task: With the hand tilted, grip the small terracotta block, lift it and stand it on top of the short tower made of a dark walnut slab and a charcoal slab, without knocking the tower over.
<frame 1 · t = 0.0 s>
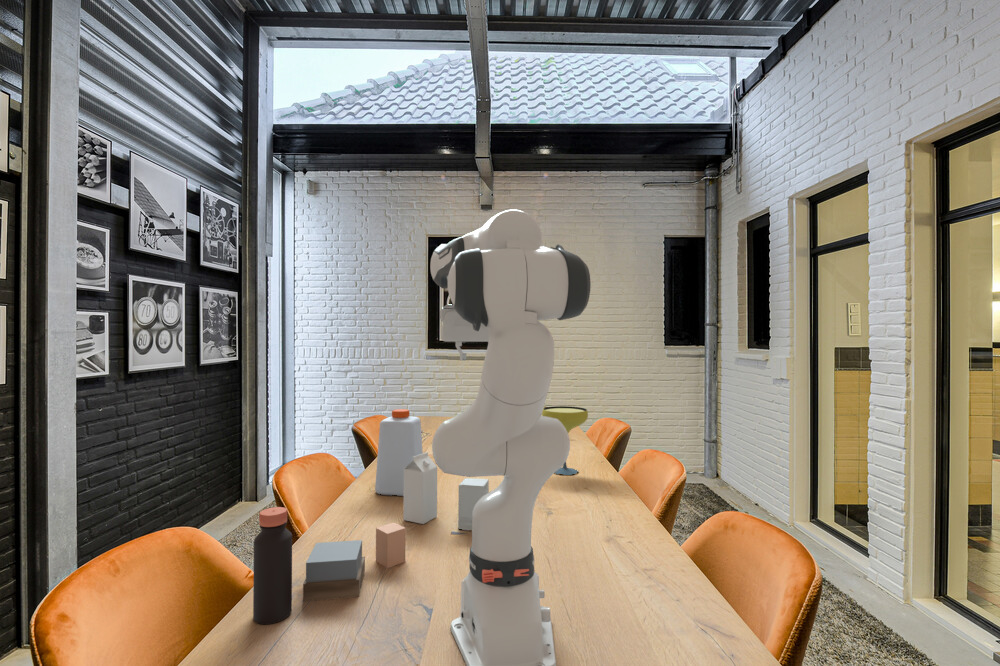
hand: (482, 360, 123), 48 cm above the table, tool pointing down, fingers open, 8 cm apart
cocktail glass: (564, 472, 197), on the table
plastic bottle: (400, 490, 173), on the table
tower base block: (335, 588, 106), on the table, touching tower top block
supplement box: (473, 526, 140), on the table
terracotta block: (390, 561, 118), on the table
tower top block: (335, 569, 107), point 3 cm above the table, touching tower base block
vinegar: (272, 616, 95), on the table
milk carton: (420, 519, 146), on the table
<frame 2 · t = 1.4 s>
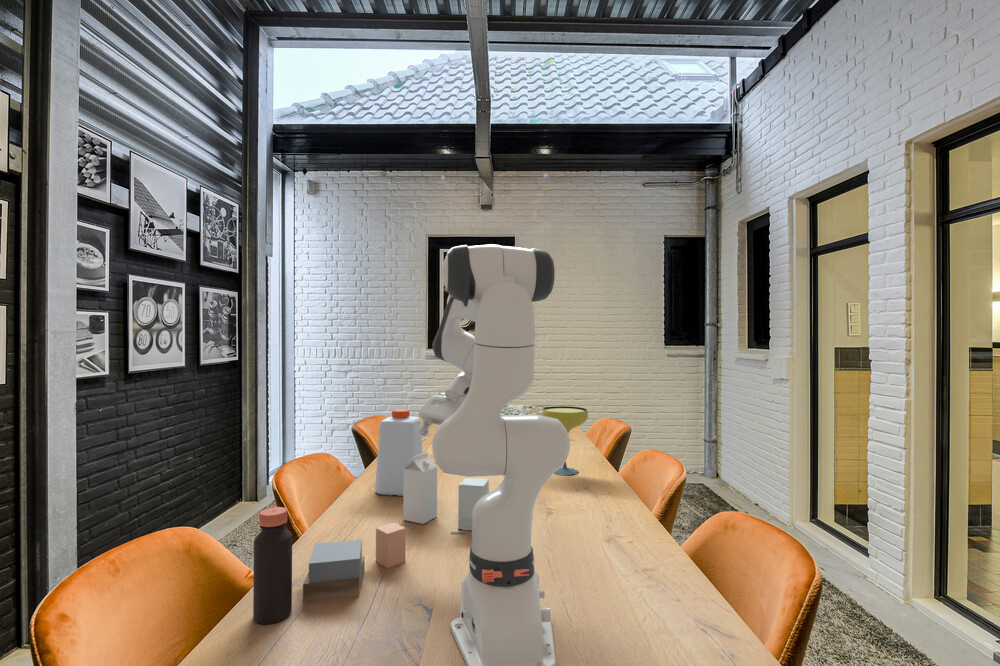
hand: (432, 437, 127), 28 cm above the table, tool tilted 45°, fingers open, 8 cm apart
nothing on the table moved.
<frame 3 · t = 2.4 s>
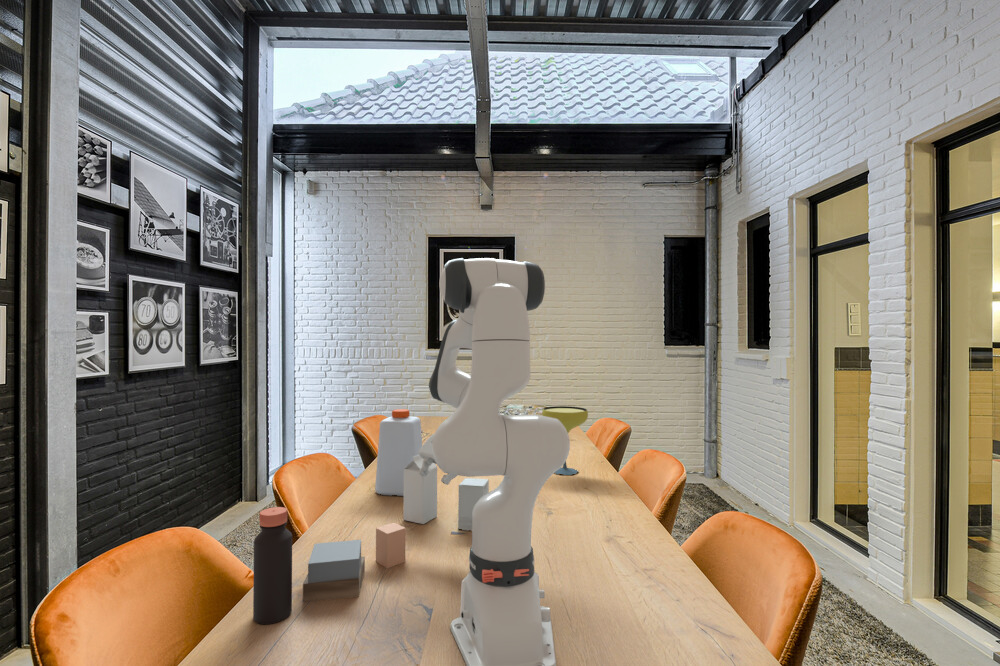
hand: (432, 478, 127), 17 cm above the table, tool tilted 45°, fingers open, 8 cm apart
nothing on the table moved.
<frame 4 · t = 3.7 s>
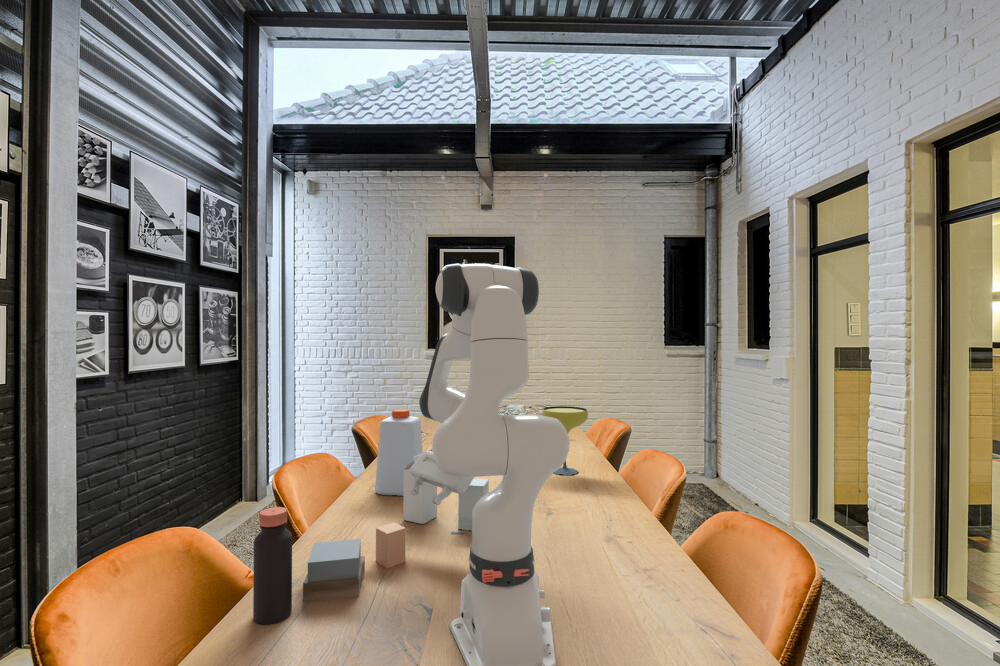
hand: (423, 498, 125), 13 cm above the table, tool tilted 45°, fingers open, 8 cm apart
tower base block: (335, 587, 106), on the table
tower top block: (335, 568, 107), point 4 cm above the table
everything else where it was.
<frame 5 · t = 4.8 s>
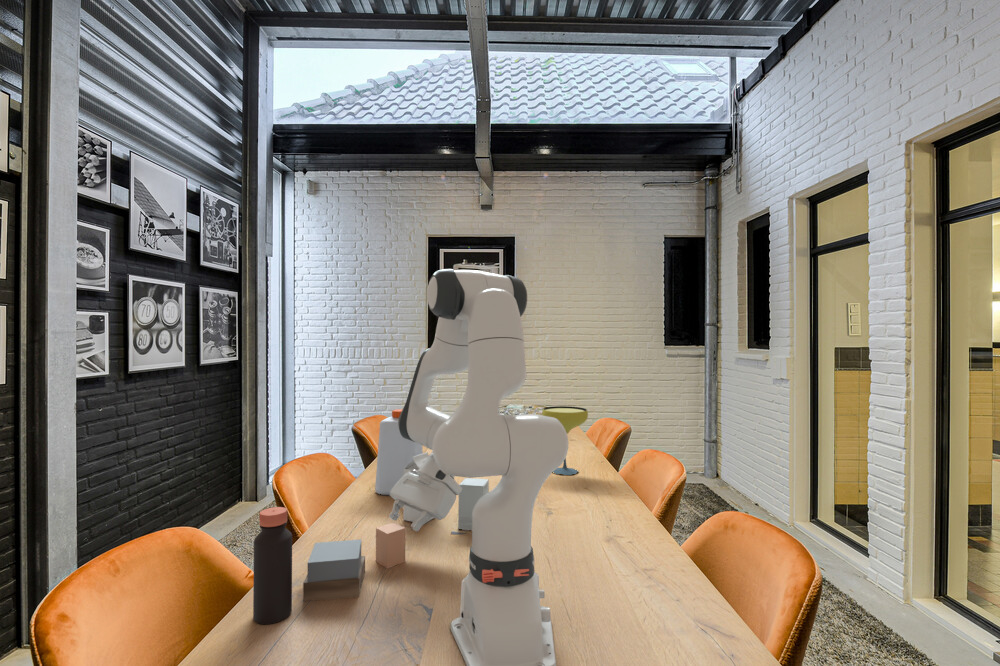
hand: (402, 524, 121), 8 cm above the table, tool tilted 45°, fingers open, 8 cm apart
tower base block: (335, 587, 106), on the table, touching tower top block
tower top block: (335, 569, 106), point 4 cm above the table, touching tower base block
everything else where it was.
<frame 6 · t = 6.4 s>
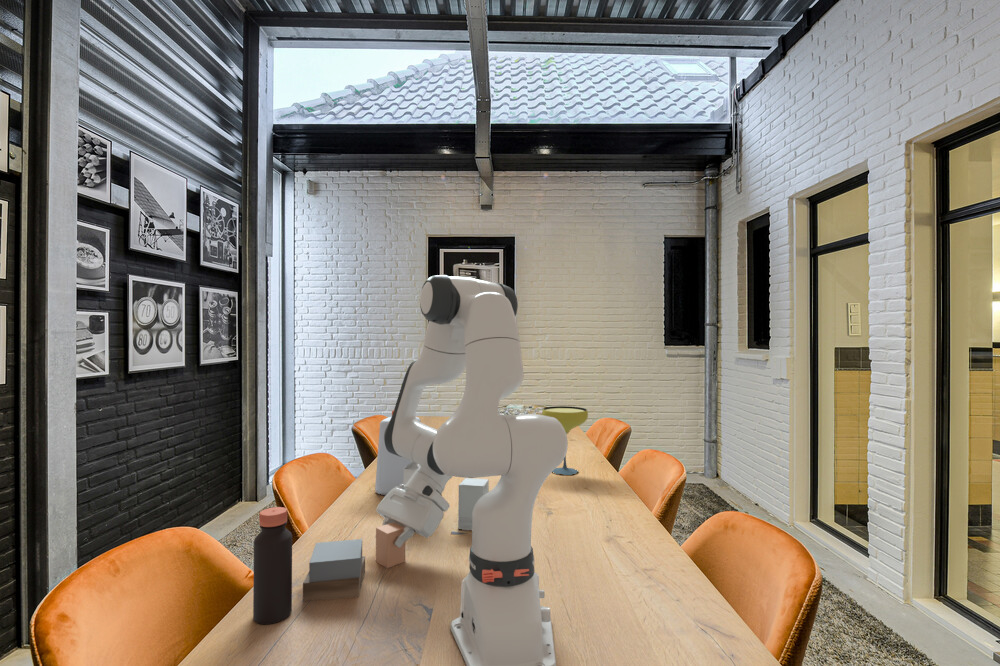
hand: (388, 541, 118), 5 cm above the table, tool tilted 45°, fingers closed on terracotta block, 5 cm apart
tower base block: (335, 587, 106), on the table
terracotta block: (390, 561, 118), on the table, touching gripper
tower top block: (337, 568, 107), point 4 cm above the table
everything else where it was.
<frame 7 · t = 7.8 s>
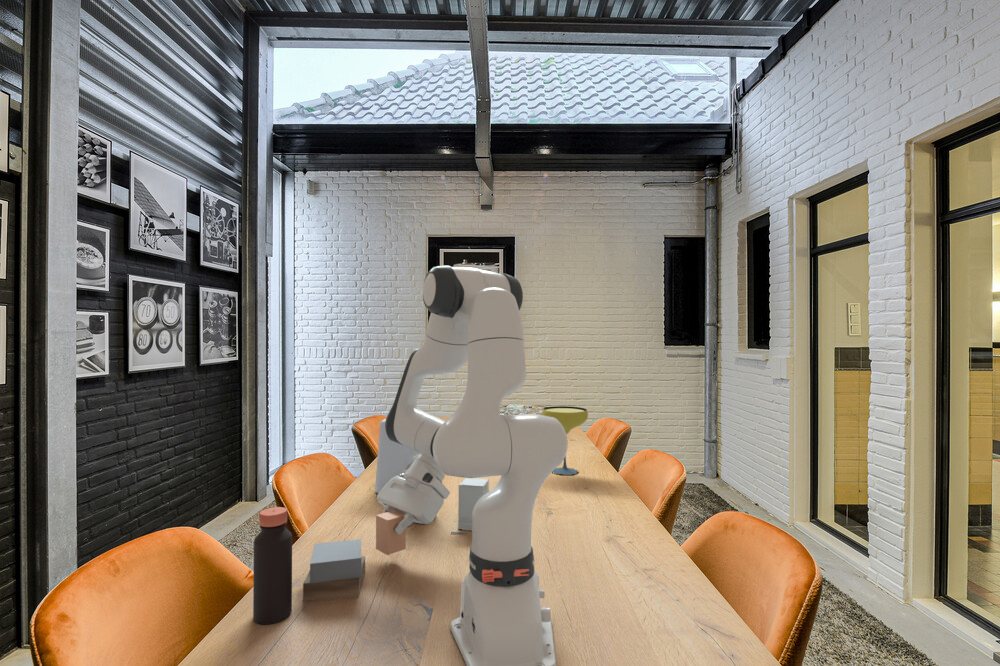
hand: (388, 528, 117), 8 cm above the table, tool tilted 45°, fingers closed on terracotta block, 5 cm apart
tower base block: (335, 587, 106), on the table, touching tower top block
terracotta block: (390, 548, 118), point 3 cm above the table, touching gripper
tower top block: (337, 569, 106), point 4 cm above the table, touching tower base block
everything else where it was.
when the fingers open (14 cm above the table, at t = 12.6 s): terracotta block drops 2 cm, resting on tower top block.
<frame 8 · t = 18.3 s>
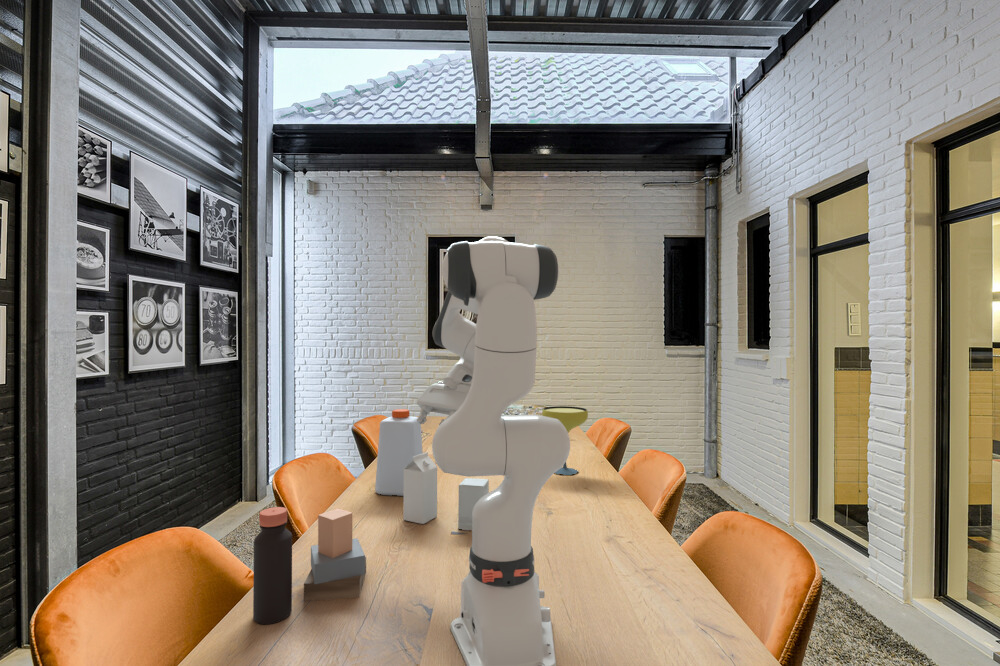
hand: (430, 424, 125), 31 cm above the table, tool tilted 45°, fingers open, 8 cm apart
terracotta block: (335, 550, 106), point 7 cm above the table, touching tower top block
tower top block: (337, 569, 107), point 3 cm above the table, touching terracotta block, tower base block
everything else where it was.
at the end: terracotta block 0.4 cm off-centre on the tower top block, point 4.0 cm above the tower top block's base; terracotta block tilted 1°; tower top block 0.1 cm off-centre on the tower base block, point 4.0 cm above the tower base block's base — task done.
